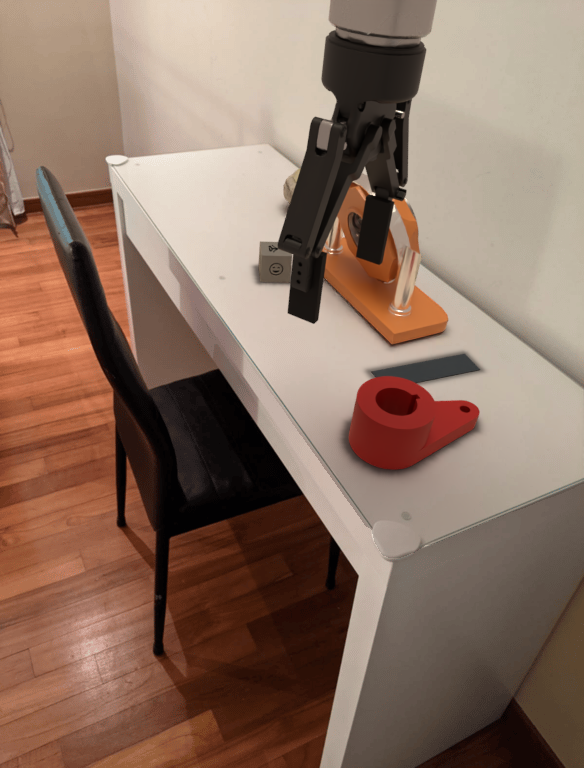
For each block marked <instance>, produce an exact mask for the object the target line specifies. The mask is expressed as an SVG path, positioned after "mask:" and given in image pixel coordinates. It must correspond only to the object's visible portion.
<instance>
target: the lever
mask: <svg viewBox="0 0 584 768" xmlns="http://www.w3.org/2000/svg"><path fill="white" fill-rule="evenodd" d="M480 412H481V411H480V408H479V406H477V405H476V404H475V403H473V402H472V401H469V400H463V399H456V400H455V399H454V400H452V399H451V400H435V398H434V397H433V396H432V394H431V393H430V392H429V391H428V390H427V389H426V388H424V387H423V386H422V385H420V384H419V383H415V382H412V381H410V380H407V379H404V378H400V377H393V376H382V377H373V378H370V379H368V380H366V381H364V382H363V383H362V384H361V385H360V386H359V387H358V390H357V392H356V397H355V402H354V406H353V411H352V416H351V421H350V427H349V430H348V431H349V432H348V443H349V445H350V448H351V450H352V451H353V452H354V454H356V456H357V457H359V458H360V459H361V460H362V461H364V462H365V463H367V464H369V465H371V466H374V467H376V468H378V469H383V470H392V471H393V470H403V469H407V468H410V467H412V466H414V465H416V464H417V463H419V462H421V461H422V460H424V459H425V458H427V457H429V456H431V455H432V454H434V453H436V452H437V451H439V450H441V449H443V448H444V447H446V446H448V445H449V444H451V443H452V442H454V441H455V440H457V439H459V438H461V437H463V436H464V435H466V434H468V433H470V432H471V431H473V430H474V429H475V427H476V424H477V422H478V419H479V417H480Z"/></svg>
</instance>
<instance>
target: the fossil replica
mask: <svg viewBox="0 0 584 768" xmlns="http://www.w3.org/2000/svg"><path fill="white" fill-rule="evenodd" d="M300 169H301V167H299V168H298V169H296V170H294V172H293V173H292V174H291V175H288V176H287V178H286V179H285V181H284V183H283V185H282V186H283V190H282V192H283V197H284V200H286V202H288V203H289V205H290V202H291V198H292V195H293V192H294V189H295V185H296V182H297V179H298V176H299V172H300ZM289 205H288V206H289Z"/></svg>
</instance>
